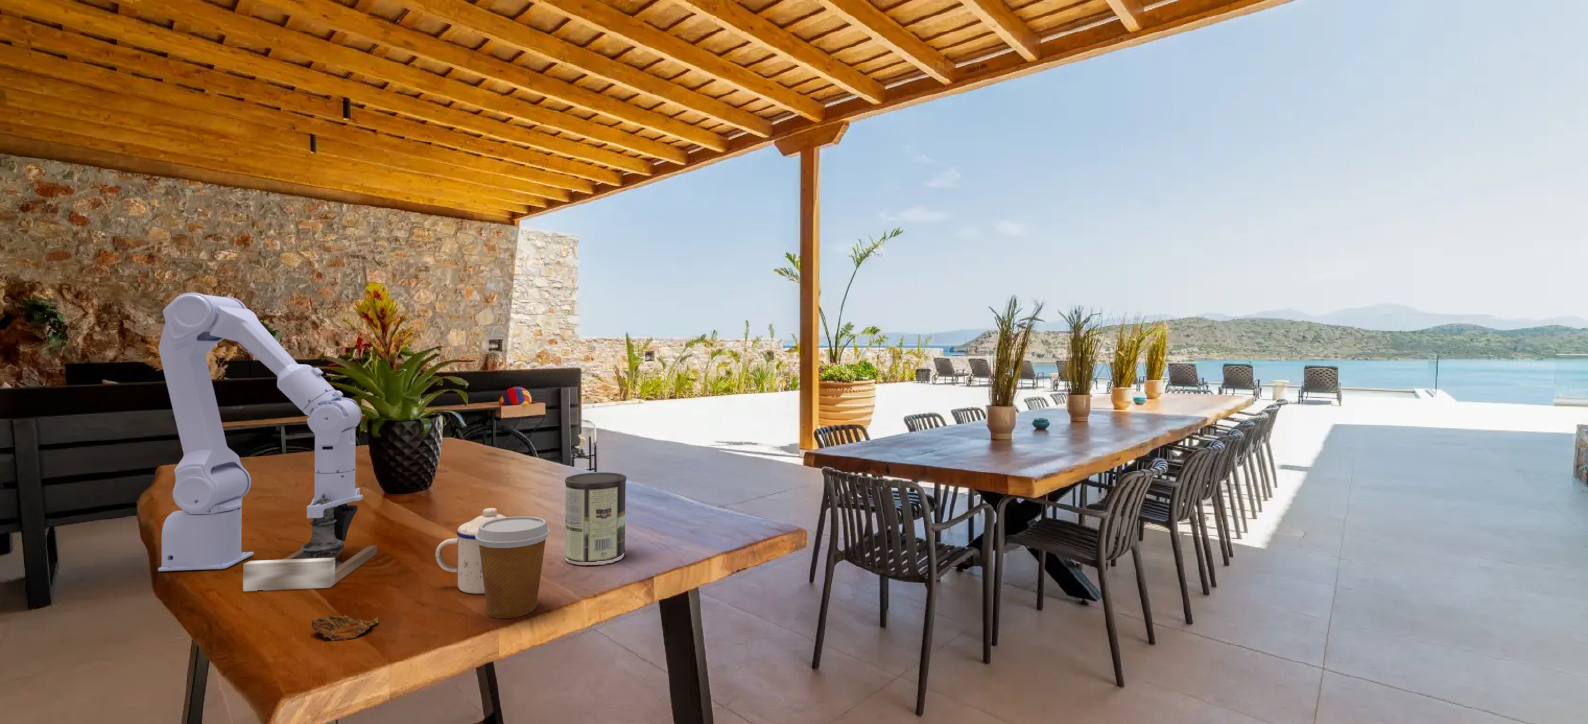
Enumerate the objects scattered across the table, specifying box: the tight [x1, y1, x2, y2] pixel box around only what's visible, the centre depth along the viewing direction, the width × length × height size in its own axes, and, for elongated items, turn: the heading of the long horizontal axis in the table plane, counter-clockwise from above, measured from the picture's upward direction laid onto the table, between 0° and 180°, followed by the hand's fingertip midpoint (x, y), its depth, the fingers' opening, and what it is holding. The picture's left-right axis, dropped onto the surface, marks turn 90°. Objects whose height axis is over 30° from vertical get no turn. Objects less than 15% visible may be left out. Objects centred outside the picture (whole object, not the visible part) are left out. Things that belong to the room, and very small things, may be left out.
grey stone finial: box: [300, 493, 346, 568], centre depth 110 cm, size 6×6×12 cm
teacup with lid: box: [435, 507, 507, 595], centre depth 103 cm, size 12×9×12 cm
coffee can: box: [564, 471, 627, 563], centre depth 118 cm, size 10×10×14 cm
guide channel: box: [242, 544, 378, 592], centre depth 108 cm, size 11×17×4 cm
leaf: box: [311, 613, 380, 641], centre depth 86 cm, size 6×7×2 cm
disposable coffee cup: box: [475, 515, 550, 619], centre depth 94 cm, size 10×10×12 cm
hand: (334, 550), depth 114 cm, fingers closed
